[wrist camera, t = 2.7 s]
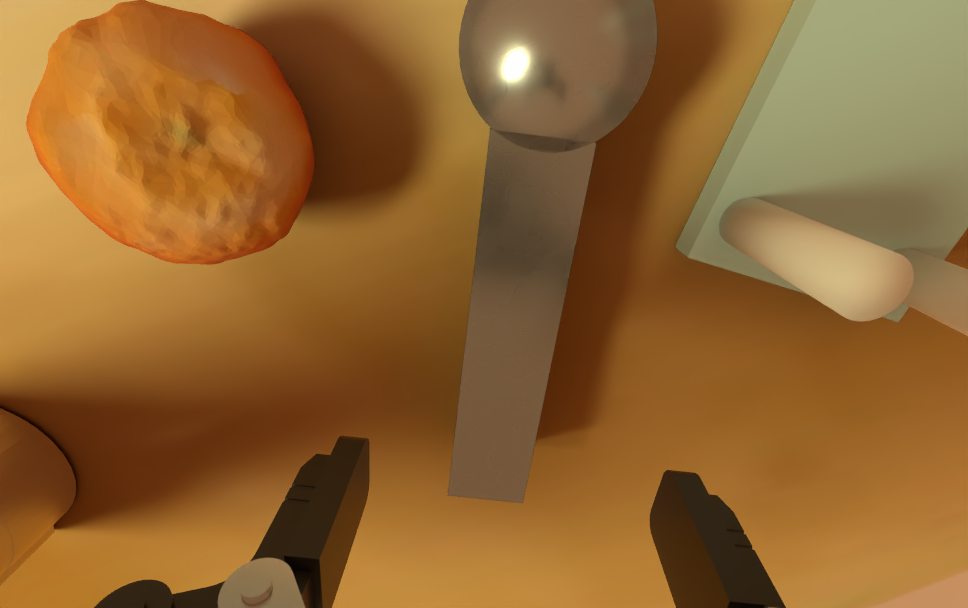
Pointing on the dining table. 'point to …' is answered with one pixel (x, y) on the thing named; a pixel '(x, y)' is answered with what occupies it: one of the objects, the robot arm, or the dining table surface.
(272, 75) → the fruit
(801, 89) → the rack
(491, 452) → the ball-topped lever
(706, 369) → the dining table surface
